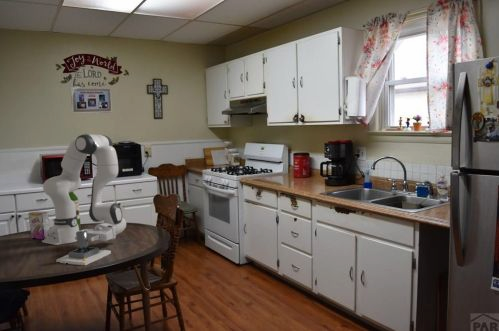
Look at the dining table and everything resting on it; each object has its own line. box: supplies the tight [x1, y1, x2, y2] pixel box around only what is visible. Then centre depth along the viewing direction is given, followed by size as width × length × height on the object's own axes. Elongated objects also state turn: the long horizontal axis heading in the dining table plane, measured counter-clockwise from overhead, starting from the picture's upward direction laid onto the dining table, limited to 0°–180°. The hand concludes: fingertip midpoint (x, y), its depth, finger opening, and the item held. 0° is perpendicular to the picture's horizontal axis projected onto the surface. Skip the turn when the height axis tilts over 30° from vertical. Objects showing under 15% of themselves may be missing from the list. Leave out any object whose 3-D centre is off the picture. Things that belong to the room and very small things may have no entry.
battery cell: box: [76, 229, 90, 253], centre depth 201 cm, size 5×5×13 cm
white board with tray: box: [55, 246, 112, 266], centre depth 201 cm, size 18×18×4 cm
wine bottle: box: [69, 191, 82, 230], centre depth 260 cm, size 9×9×32 cm
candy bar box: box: [27, 210, 51, 240], centre depth 242 cm, size 11×5×16 cm, turn 71°
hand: (83, 239), depth 201 cm, fingers open, 8 cm apart
